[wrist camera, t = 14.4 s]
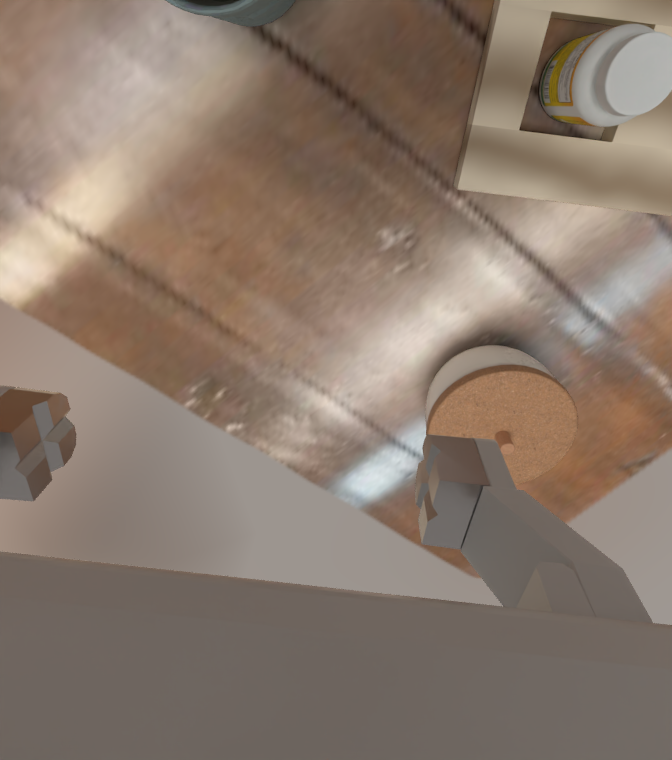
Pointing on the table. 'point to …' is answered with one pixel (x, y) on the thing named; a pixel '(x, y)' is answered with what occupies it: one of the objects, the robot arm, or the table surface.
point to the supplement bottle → (608, 76)
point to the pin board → (554, 152)
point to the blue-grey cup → (237, 9)
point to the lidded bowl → (504, 407)
